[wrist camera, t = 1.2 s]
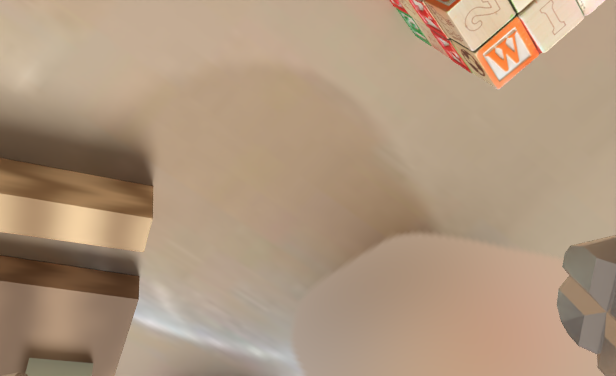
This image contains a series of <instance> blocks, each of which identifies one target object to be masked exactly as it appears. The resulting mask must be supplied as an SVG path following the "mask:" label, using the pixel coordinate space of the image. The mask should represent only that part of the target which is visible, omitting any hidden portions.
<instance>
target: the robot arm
mask: <svg viewBox="0 0 616 376" xmlns="http://www.w3.org/2000/svg"><path fill="white" fill-rule="evenodd" d="M563 268H564V269H565V271H566V272H567V273H568V274H569V277H568V278H567V279H566V280H565V282H564V283H563V284H562V285H561V286H560V288H559V292H558V300H557V307H558V311H559V315H560V319H561V322H562V324H563V326H564V328H565V329H566V331H567V333H568V334H569V335H570V337H571V338H572V339H573V340H574V341H575V342H576V344H577V345H578V346H580V347H582V348H584V349H587V350H589V351H591V352H593V353H595V354H597V363H598V368H599V369H600V370H601V372H602V373H603V374H604V375H605V376H616V235H613V236H609V237H605V238H601V239H597V240H592V241H588V242H584V243H580V244H576V245H571V246H570V247H569V249H568V250H567V251H566V253H565V256H564V261H563ZM3 376H28V375H27V374H24V373H19V372H18V373H13V374H8V375H3Z"/></svg>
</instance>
